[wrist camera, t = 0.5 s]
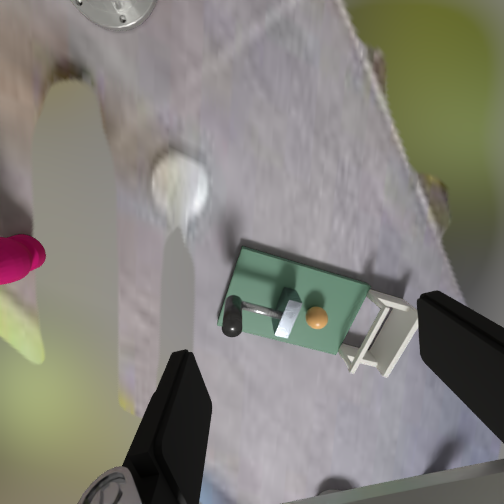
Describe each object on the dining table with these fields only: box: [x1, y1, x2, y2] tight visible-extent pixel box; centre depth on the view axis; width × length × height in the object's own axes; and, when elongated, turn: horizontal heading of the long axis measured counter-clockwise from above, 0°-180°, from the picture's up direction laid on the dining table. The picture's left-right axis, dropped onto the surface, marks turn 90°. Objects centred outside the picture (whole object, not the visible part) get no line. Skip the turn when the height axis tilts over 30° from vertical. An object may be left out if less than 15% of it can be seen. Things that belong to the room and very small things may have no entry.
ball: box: [305, 306, 328, 329], centre depth 45 cm, size 4×4×4 cm
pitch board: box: [217, 246, 371, 355], centre depth 47 cm, size 25×16×2 cm, turn 72°
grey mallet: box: [222, 287, 303, 338], centre depth 39 cm, size 12×7×11 cm, turn 72°
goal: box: [338, 289, 418, 378], centre depth 46 cm, size 9×14×7 cm, turn 162°
